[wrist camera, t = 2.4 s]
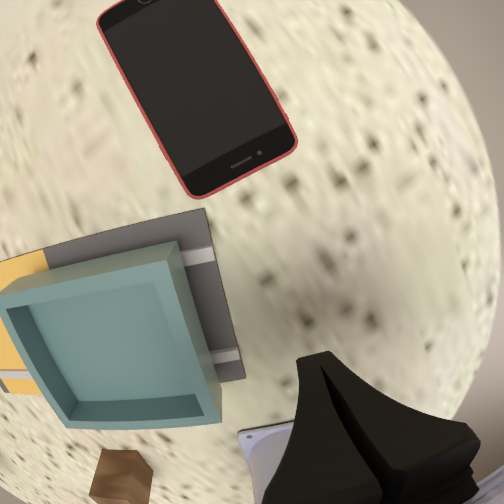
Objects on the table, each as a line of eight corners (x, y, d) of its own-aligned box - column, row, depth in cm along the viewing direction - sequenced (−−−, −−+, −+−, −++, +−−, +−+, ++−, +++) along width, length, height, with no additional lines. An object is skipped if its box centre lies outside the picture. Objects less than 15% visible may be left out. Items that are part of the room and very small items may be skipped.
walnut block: (137, 450, 23) (126, 500, 17) (153, 471, 24) (146, 517, 19) (102, 449, 23) (88, 495, 17) (119, 470, 24) (110, 513, 19)
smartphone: (193, -36, 12) (305, 147, 16) (193, -31, 13) (302, 147, 17) (91, 18, 13) (192, 206, 17) (94, 21, 13) (193, 205, 17)
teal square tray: (179, 235, 16) (166, 260, 13) (221, 379, 19) (222, 422, 16) (26, 272, 16) (-8, 297, 12) (83, 391, 19) (66, 427, 15)
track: (204, 207, 17) (203, 210, 16) (245, 375, 21) (246, 382, 20) (-50, 278, 17) (-55, 281, 16) (5, 390, 20) (2, 394, 20)
